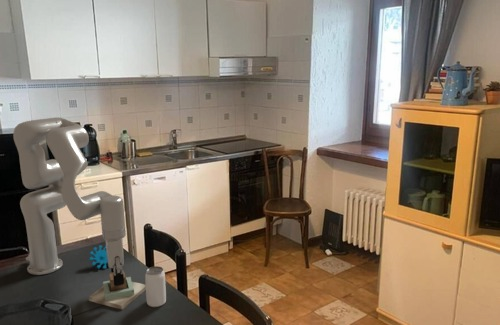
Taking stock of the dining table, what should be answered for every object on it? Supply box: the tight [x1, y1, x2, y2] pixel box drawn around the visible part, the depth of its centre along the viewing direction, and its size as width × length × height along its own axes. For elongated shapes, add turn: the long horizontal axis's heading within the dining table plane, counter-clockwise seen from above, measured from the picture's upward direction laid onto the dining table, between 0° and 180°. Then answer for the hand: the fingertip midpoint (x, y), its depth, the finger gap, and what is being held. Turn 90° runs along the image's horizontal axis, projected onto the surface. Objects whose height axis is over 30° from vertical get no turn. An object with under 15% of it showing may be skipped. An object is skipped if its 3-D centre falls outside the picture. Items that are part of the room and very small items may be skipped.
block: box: [108, 270, 127, 292], centre depth 144 cm, size 5×5×6 cm
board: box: [88, 281, 146, 310], centre depth 145 cm, size 14×14×2 cm
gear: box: [89, 245, 108, 270], centre depth 167 cm, size 11×6×10 cm
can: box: [144, 265, 167, 308], centre depth 139 cm, size 6×6×12 cm
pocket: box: [102, 276, 134, 301], centre depth 145 cm, size 10×10×2 cm
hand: (117, 277), depth 144 cm, fingers open, 9 cm apart
